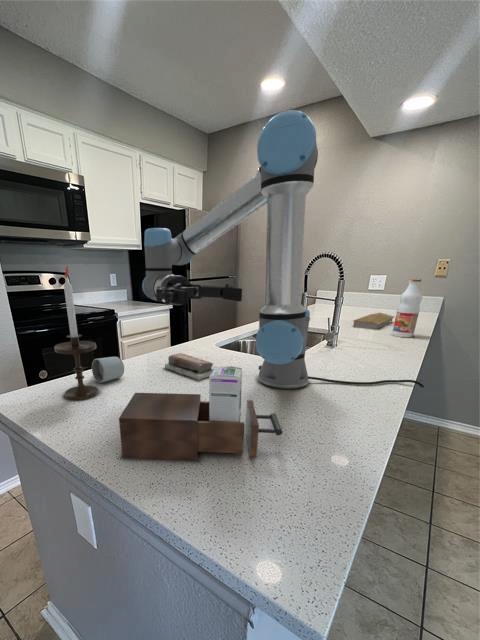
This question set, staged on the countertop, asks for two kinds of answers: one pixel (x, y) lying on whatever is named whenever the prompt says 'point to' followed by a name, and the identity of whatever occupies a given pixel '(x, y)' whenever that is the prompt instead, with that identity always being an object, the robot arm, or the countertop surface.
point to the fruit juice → (408, 310)
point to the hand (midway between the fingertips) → (214, 296)
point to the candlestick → (75, 349)
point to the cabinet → (160, 426)
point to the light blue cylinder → (107, 369)
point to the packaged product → (189, 366)
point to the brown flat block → (373, 321)
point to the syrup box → (225, 394)
